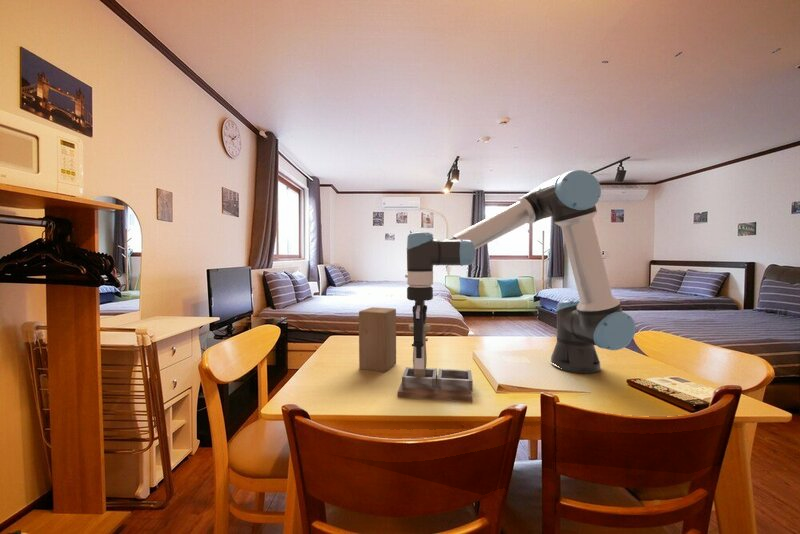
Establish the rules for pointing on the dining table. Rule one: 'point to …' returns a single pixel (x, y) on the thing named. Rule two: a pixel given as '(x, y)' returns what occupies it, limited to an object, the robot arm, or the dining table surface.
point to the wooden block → (377, 339)
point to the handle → (425, 329)
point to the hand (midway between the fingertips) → (419, 365)
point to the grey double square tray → (437, 384)
